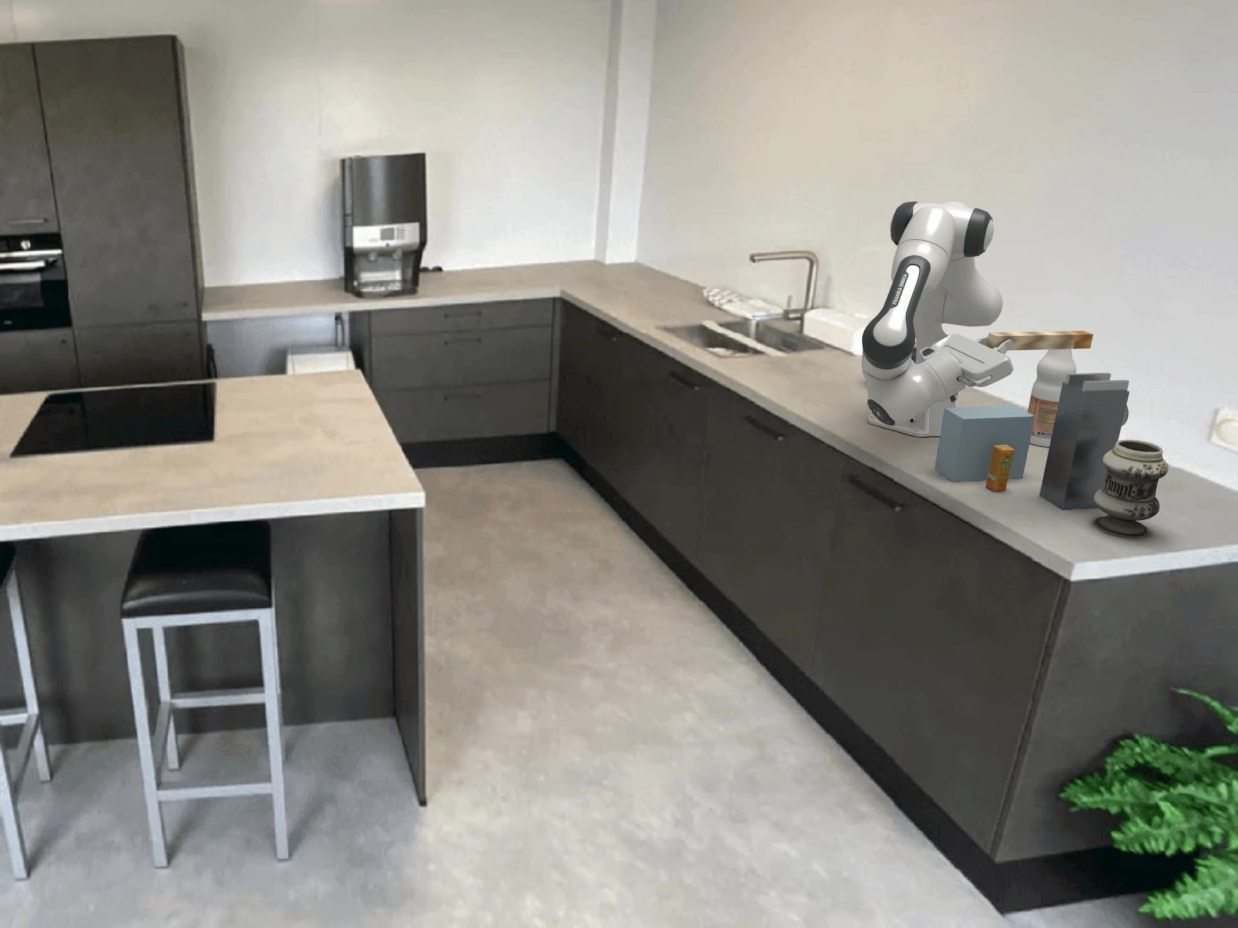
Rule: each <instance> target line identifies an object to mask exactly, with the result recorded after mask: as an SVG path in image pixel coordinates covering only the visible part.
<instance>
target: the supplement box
mask: <svg viewBox="0 0 1238 928" xmlns="http://www.w3.org/2000/svg"><path fill="white" fill-rule="evenodd" d="M1014 451H1015V450H1014V449H1013V448H1011V447H1010V446H1008V445H995V446H994V449H993V453H992V458H991V463H990V467H989V472H988V476H987V480H985V487H986V488H988V489H989V490H990V491H992V492H1001V491H1004V492H1005V491H1006V490H1007V486H1008V481H1009V479H1008V477H1009V473H1010V469H1011V464H1012V460H1013V456H1014Z"/></svg>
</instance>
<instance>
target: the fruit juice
mask: <svg viewBox="0 0 1238 928" xmlns="http://www.w3.org/2000/svg"><path fill="white" fill-rule="evenodd" d="M1072 353H1073V352H1072V349H1050V350H1047V351H1046V353H1045V355H1044V356H1043V357H1042V358H1041V359H1040V360H1039V361H1038V362H1037V365H1036V379H1035V381H1034V382H1033V385H1032V388H1031V392H1030V396H1029V397H1030V398H1029V401H1028V407H1027V412H1028V413H1030V414H1032V415H1033V416H1035V419H1034V424H1033V429H1032V434H1031V439H1030V444H1032V445H1033V446H1038V447H1045V448H1049V446H1050V441H1051V436H1052V432H1053V427H1054V422H1055V417H1056V412H1057V408H1058V403H1059V398H1060V393H1061V388H1062V383H1063V382H1065V381H1066V376H1067V374H1077V365H1076V363H1075V361H1074V359H1073V354H1072Z"/></svg>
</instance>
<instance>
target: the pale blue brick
mask: <svg viewBox="0 0 1238 928" xmlns="http://www.w3.org/2000/svg"><path fill="white" fill-rule="evenodd" d="M1034 419H1035V416H1033V415H1032V414H1030V413H1028V411H1025V410H1024V409H1022V408H1019V407H1018V406H1017V405H999V406H998V405H991V406H989V405H988V406H963V407H962V406H960V407H959V406H958V407H955V408H944V414H943V420H942V426H941V432H940V436H939V439H938V444H937V445H938V446H937V452H936V456H935V457H936V459H935V464H934V470H935V471H936V472H938V473H939V474H941V475H942V476H944V477H945V478H946V479H947V480H949V481H950V482H952V483H955V482H957V483H958V482H973V481H974V482H977V481H987V476H988V472H989V467H990V463H991V458H992V453H993V449H994V446H995V445H1008V446H1010V447H1011V448H1013V449H1014V450H1015V451H1014V456H1013V460H1012V464H1011V469H1010V473H1009V477H1008V480H1013V479H1017V480H1018V479H1023V478H1024V473H1025V468H1026V464H1027V463H1026V462H1027V458H1028V454H1029V449H1030V444H1031V443H1030V439H1031V434H1032V429H1033V424H1034Z"/></svg>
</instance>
